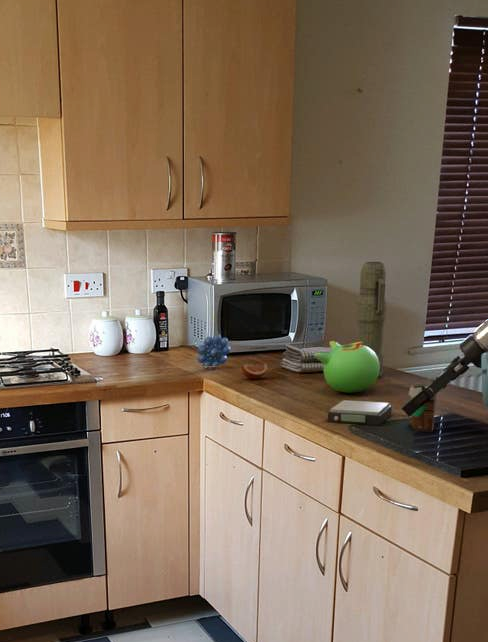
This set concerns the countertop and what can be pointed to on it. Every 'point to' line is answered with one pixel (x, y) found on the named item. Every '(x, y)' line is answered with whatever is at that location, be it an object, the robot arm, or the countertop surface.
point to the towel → (303, 359)
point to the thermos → (372, 308)
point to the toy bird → (350, 367)
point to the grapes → (213, 351)
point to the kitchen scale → (360, 412)
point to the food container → (423, 410)
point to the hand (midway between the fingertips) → (411, 406)
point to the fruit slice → (254, 370)
